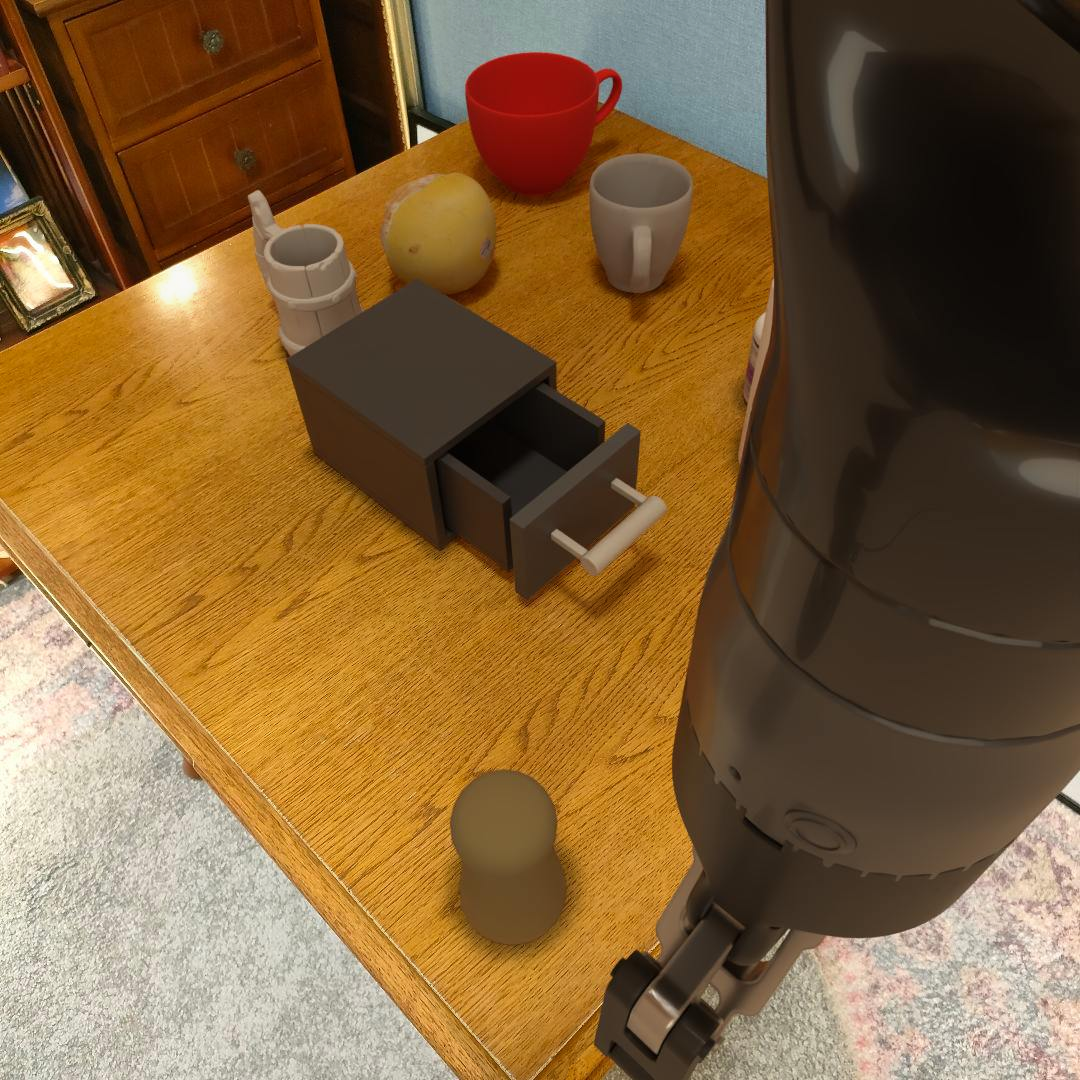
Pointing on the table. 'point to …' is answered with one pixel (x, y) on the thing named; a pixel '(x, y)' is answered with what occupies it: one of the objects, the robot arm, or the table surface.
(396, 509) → the small storage chest
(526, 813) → the pepper shaker
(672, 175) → the mug
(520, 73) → the ceramic cup
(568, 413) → the drawer
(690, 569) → the table surface
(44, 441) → the table surface
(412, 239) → the fruit
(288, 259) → the mug
